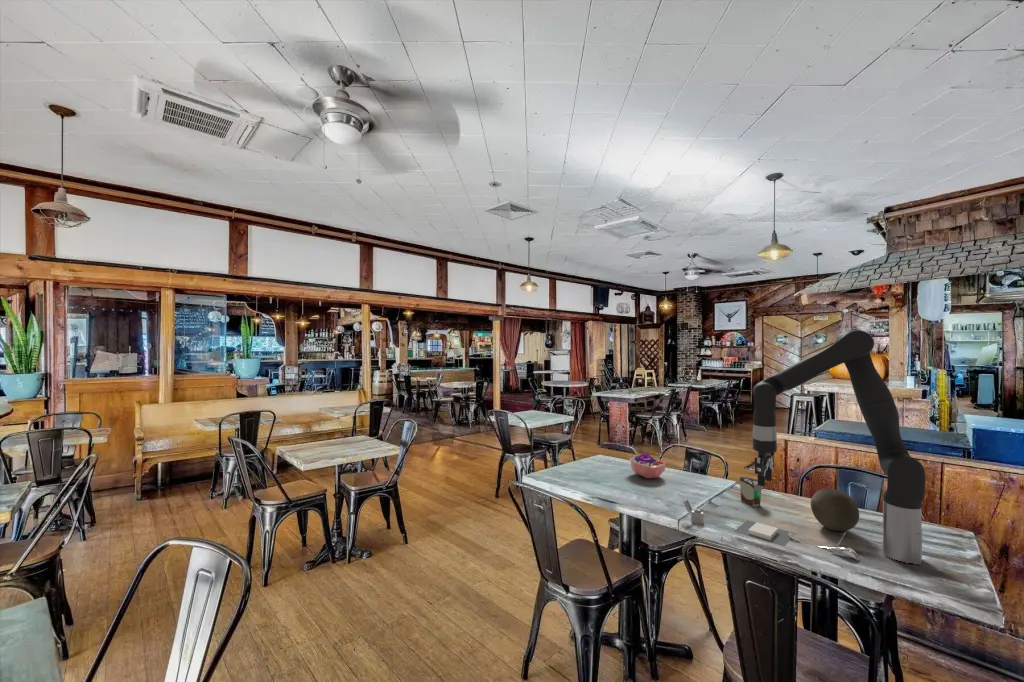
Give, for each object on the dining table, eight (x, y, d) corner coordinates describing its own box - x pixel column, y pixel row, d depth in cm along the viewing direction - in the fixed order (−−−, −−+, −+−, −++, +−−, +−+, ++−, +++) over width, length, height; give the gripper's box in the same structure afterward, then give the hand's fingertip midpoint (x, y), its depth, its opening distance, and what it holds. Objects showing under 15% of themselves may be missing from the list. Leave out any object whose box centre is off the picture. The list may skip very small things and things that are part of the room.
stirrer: (786, 529, 151) (790, 525, 154) (785, 539, 151) (789, 535, 154) (858, 554, 136) (861, 549, 139) (857, 565, 136) (860, 560, 139)
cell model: (635, 483, 212) (635, 459, 212) (626, 470, 232) (626, 449, 232) (670, 483, 211) (670, 460, 211) (658, 471, 231) (658, 449, 231)
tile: (778, 528, 156) (770, 536, 150) (778, 532, 156) (770, 540, 150) (756, 522, 161) (748, 529, 155) (756, 526, 161) (748, 534, 155)
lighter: (703, 523, 165) (703, 502, 165) (702, 525, 163) (702, 504, 163) (684, 519, 169) (684, 498, 169) (683, 520, 168) (683, 499, 168)
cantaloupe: (816, 519, 169) (816, 481, 169) (862, 531, 158) (862, 490, 158) (806, 530, 159) (806, 489, 159) (854, 543, 149) (854, 500, 149)
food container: (769, 509, 178) (769, 485, 178) (754, 509, 178) (755, 485, 178) (752, 498, 191) (753, 476, 191) (739, 498, 191) (739, 476, 191)
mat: (795, 534, 156) (795, 533, 156) (784, 547, 146) (784, 546, 146) (747, 521, 167) (747, 519, 167) (734, 532, 157) (734, 530, 157)
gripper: (759, 433, 164) (759, 476, 164) (746, 439, 154) (746, 485, 154) (782, 436, 159) (782, 480, 159) (770, 442, 149) (770, 490, 149)
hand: (764, 482), depth 156 cm, fingers open, 7 cm apart
